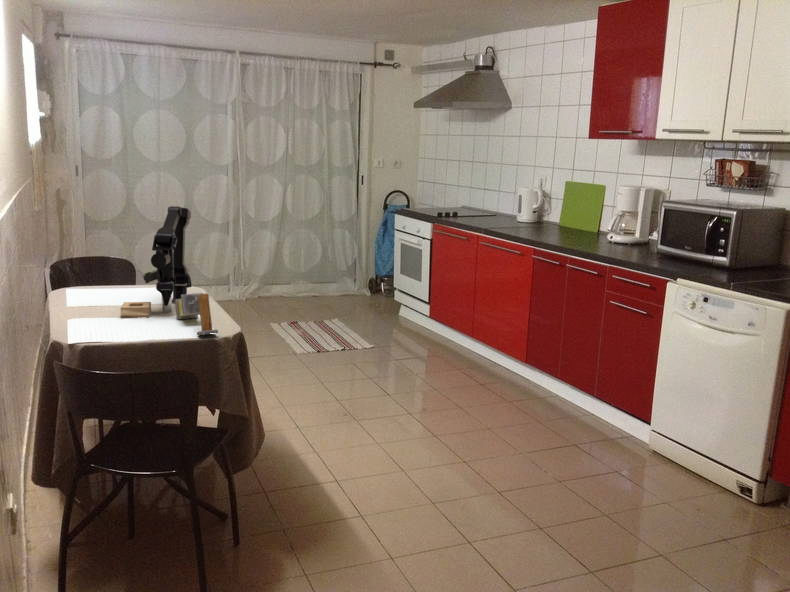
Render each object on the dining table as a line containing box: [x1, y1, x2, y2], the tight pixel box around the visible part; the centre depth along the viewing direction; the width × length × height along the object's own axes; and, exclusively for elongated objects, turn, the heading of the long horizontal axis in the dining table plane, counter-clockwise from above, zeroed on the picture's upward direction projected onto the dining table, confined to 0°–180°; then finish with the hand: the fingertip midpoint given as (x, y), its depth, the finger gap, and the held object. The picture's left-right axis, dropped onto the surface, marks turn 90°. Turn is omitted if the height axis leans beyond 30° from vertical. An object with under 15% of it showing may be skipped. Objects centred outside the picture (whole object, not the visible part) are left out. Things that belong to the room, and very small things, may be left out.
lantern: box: [174, 292, 219, 336], centre depth 253 cm, size 8×17×30 cm
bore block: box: [120, 301, 152, 319], centre depth 268 cm, size 10×10×4 cm
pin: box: [161, 296, 173, 314], centre depth 274 cm, size 4×4×8 cm
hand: (166, 303), depth 274 cm, fingers open, 9 cm apart
